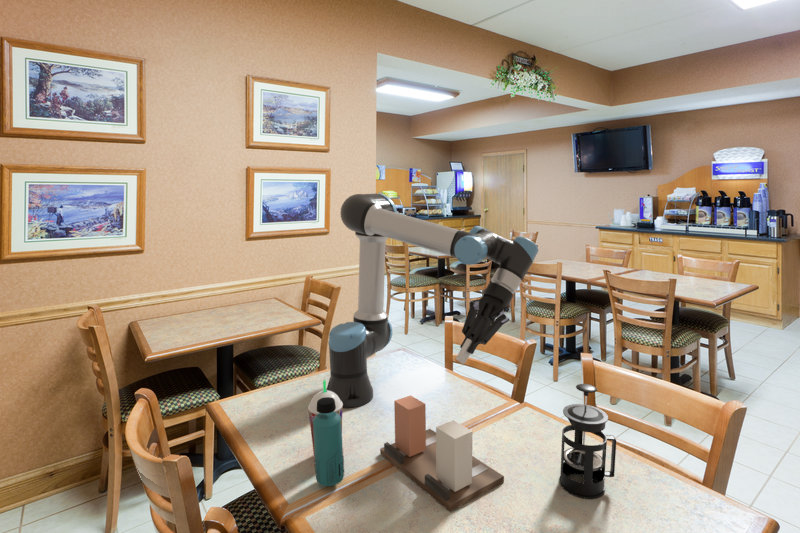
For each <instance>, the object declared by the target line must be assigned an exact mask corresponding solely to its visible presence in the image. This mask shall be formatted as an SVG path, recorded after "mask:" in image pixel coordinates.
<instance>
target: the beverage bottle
mask: <svg viewBox="0 0 800 533" xmlns="http://www.w3.org/2000/svg"><path fill="white" fill-rule="evenodd" d="M335 409H336V405H335V400H334V399H333V398H330V397H324V398H321V399H319V400H318V401H317V412H319V414H317V415H316V416H315V417H314V419H313V433H314V452H313V455H314V454H315V456H314V460H313V463H314V472H315V480H316V482H317V483H318V484H319V485H321V486H323V487H332V486H336V485H338V484H340V483H341V482H342V481H343V480H344V477H345V466H344V465H345V463H344V462H345V461H344V460H345V459H344V458H345V457H344V446H343V443H344V442H343V439H344V438H343V429H342V430H341V416H340V415H339V414H337V413H336V412H334V411H335Z"/></svg>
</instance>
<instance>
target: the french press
mask: <svg viewBox="0 0 800 533" xmlns="http://www.w3.org/2000/svg"><path fill="white" fill-rule="evenodd" d="M575 388H576V389H577V391H579V392H582V393H583V396H585V397H584V404H583V403H573V404H569V405H566V406H564V408H563V410H562V412H563V415H564V416H565V417H566V419H567V420H568V421H569V423H570V424H569V425H566V426H564V427H563V428H562V430H561V432H562V433H561V452H560V453H561V454H560V476H559V479H558V480H559V485H560V487H561V488H562V489H563V490H564V491H565V492H567V493H568V494H570V495H572V496H574V497H576V498H580V499H585V500H595V499H596V500H597V499H600V498H601V497H602V496H603V495H604V494H605V492H606V486H605V479H606V478H614V477H615V471H616V470H615V469H616V457H617V456H616V452H617V439H616V437H615V436H614V435H611V434H605V433H604V432H603V431H604V430H605V429H606V423H607V422H608V421H609V416H608V414H607V413H606V412H605V411H604V410H602V409H601V408H599V407H597V406H592V405H589V404H587V403H588V402H587V401H588V397H589V396H590V395H589V394H590V393H591V394H592V393H596V392H597V391H598V388H597V387H596V386H594V385H592V384H588V383H579V384H577V385H576V386H575ZM570 431H571V432H572V431H574V437H573V438H574V441H573V440H571V439H570V438H568V437H567V436H566V435H565V434H566V433H568V432H570ZM586 433H592V434H594V435H596V436H598V437H600V438H601V439H602V443H600V444H594V445H590V444H589V445H588V444H586ZM608 441H611V454H610V456H611V457H610V470H606V462H607V461H606V459H607V445H608V444H607V442H608ZM565 444H566V445H568V446H569V447H570V448H567V449H565ZM600 451H602V453H601V454H602V456H601V455H600V454H598V453H597V452H600ZM572 475H580V476H583V479H582V480H583V481H582V482H579V481H578V480H577V481H576V480H575V479H572V478H570V477H569V476H572ZM605 477H606V478H605ZM593 481H594V483H593Z"/></svg>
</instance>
